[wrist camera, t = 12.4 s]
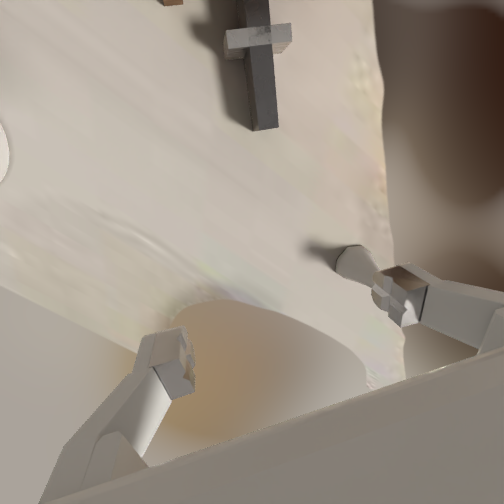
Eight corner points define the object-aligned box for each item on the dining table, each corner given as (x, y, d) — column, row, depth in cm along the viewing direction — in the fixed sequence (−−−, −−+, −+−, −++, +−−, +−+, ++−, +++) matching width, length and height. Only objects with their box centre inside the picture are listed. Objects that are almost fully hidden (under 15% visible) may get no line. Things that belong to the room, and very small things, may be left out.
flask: (358, 280, 47) (394, 312, 38) (328, 274, 45) (359, 307, 36) (375, 248, 45) (419, 275, 36) (344, 240, 42) (382, 267, 34)
